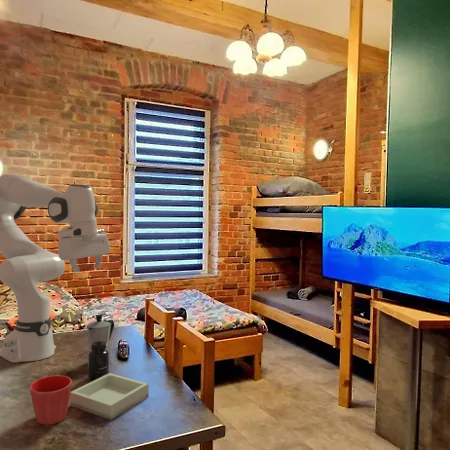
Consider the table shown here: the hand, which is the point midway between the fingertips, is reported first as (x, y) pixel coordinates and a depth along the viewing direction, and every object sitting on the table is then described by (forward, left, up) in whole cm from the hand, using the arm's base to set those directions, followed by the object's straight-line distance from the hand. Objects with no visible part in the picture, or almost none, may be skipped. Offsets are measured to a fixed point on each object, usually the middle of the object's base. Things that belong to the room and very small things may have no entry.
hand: (87, 270), depth 144 cm
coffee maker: (-3, +9, -36) cm, 37 cm away
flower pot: (+15, -27, -36) cm, 48 cm away
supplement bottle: (+7, -2, -36) cm, 37 cm away
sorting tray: (+22, -12, -36) cm, 44 cm away
